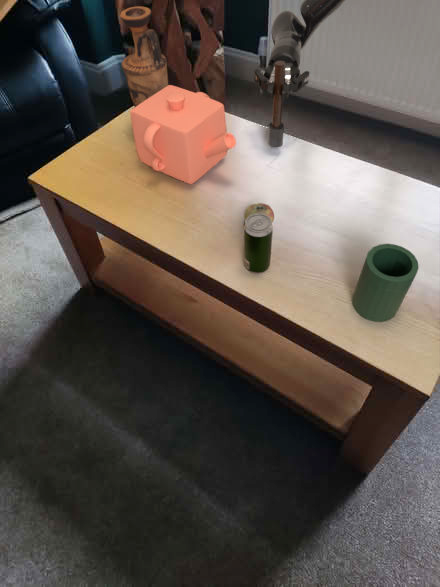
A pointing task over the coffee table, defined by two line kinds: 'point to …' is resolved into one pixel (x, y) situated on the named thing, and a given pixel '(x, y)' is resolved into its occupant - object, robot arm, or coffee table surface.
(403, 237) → the coffee table surface
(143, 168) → the coffee table surface
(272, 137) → the brush
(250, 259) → the beer can
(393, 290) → the green hollow cylinder
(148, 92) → the vase
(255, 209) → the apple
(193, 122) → the teapot
